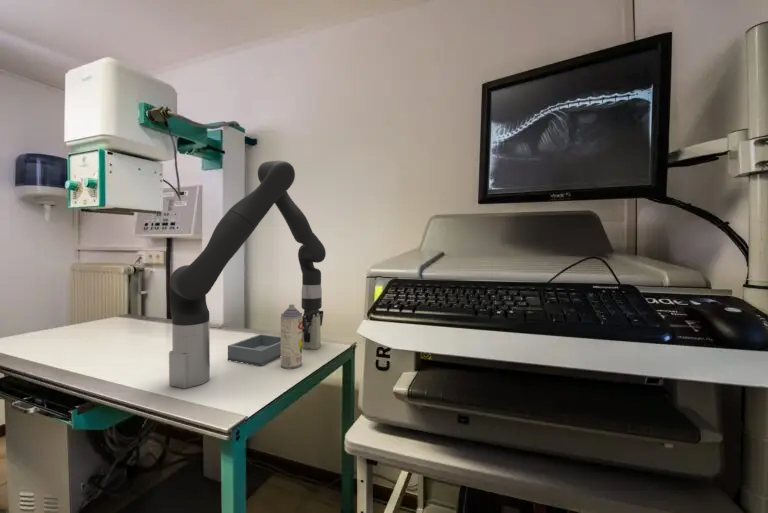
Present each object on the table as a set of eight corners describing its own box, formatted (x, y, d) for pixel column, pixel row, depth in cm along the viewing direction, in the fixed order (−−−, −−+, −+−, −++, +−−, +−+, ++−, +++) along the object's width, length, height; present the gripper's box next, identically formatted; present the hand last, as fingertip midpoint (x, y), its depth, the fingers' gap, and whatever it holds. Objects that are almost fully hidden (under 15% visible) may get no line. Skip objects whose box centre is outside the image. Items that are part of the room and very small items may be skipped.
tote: (261, 366, 109) (261, 351, 108) (227, 360, 114) (227, 345, 113) (291, 351, 124) (291, 338, 123) (260, 346, 129) (260, 333, 128)
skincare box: (320, 346, 131) (321, 315, 130) (317, 349, 126) (317, 317, 126) (305, 345, 131) (305, 314, 131) (301, 348, 127) (301, 317, 126)
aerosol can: (302, 368, 108) (302, 306, 107) (280, 369, 106) (280, 307, 105) (302, 360, 114) (302, 302, 113) (281, 362, 113) (281, 303, 112)
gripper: (309, 299, 120) (309, 346, 121) (329, 294, 133) (329, 336, 134) (291, 298, 123) (291, 344, 123) (313, 292, 136) (313, 334, 137)
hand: (311, 339), depth 129 cm, fingers closed on skincare box, 5 cm apart
